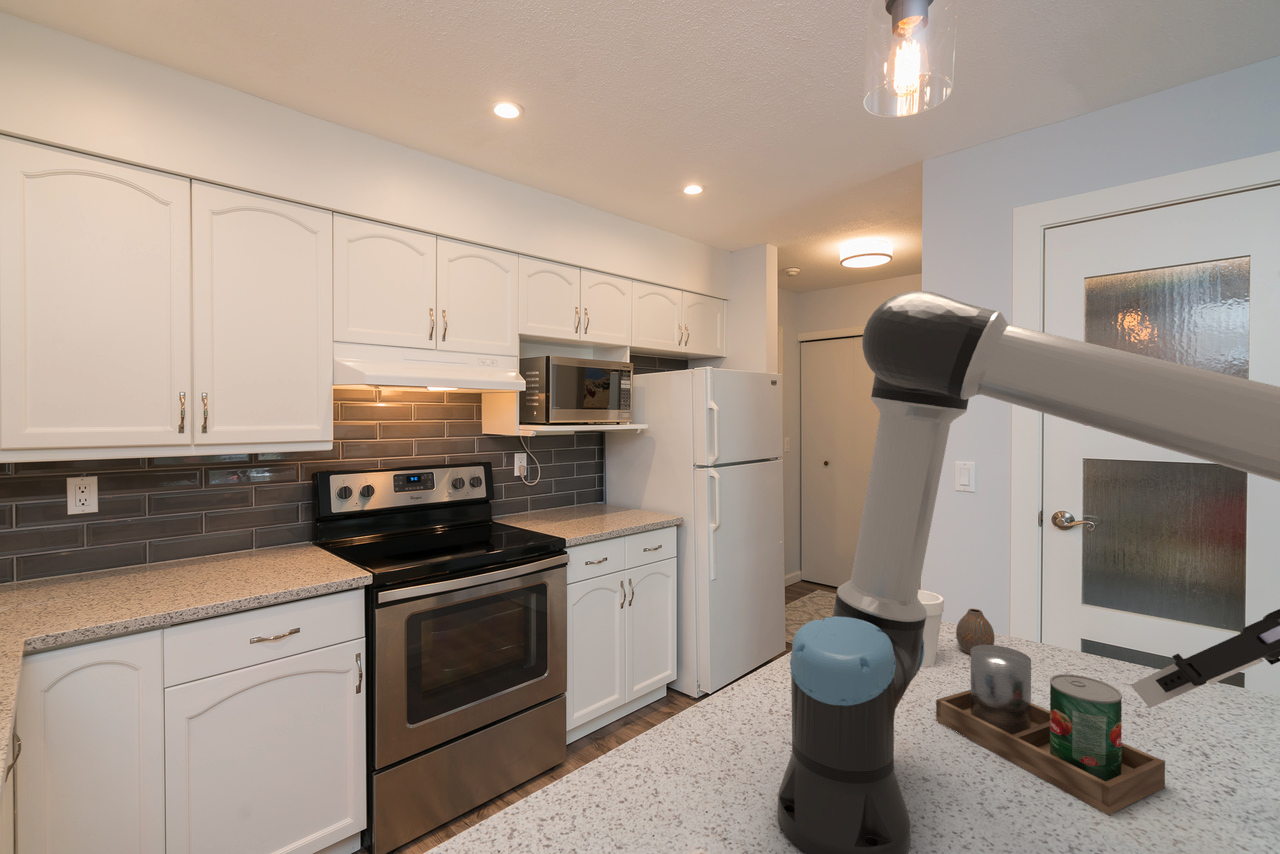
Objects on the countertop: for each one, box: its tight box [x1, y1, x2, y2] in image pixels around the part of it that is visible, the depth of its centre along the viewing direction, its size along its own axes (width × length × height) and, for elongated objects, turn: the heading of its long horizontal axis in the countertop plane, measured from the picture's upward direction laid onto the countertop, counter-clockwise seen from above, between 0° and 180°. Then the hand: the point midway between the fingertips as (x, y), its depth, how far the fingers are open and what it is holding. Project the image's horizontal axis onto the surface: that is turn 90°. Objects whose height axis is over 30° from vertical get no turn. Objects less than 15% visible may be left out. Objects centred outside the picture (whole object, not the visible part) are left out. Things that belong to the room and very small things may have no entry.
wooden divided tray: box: [935, 689, 1166, 816], centre depth 86 cm, size 24×13×4 cm, turn 24°
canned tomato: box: [1049, 673, 1123, 782], centre depth 80 cm, size 8×8×11 cm
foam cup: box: [917, 589, 945, 668], centre depth 117 cm, size 10×9×13 cm
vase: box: [955, 608, 996, 656], centre depth 121 cm, size 7×7×9 cm
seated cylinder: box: [970, 644, 1032, 735], centre depth 91 cm, size 8×8×11 cm
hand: (1172, 684), depth 71 cm, fingers open, 13 cm apart
